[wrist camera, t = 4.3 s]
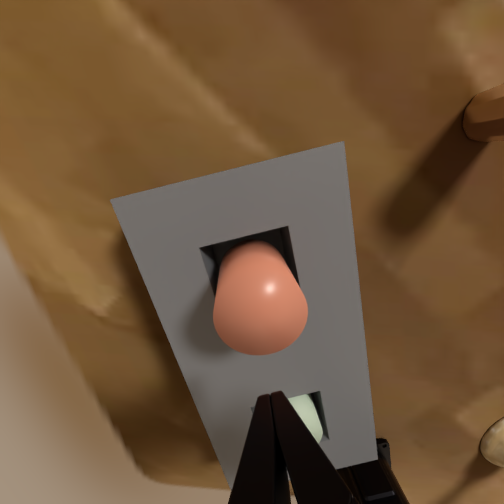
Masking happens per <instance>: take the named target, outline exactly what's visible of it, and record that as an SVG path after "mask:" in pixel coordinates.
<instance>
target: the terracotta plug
mask: <svg viewBox="0 0 504 504" xmlns="http://www.w3.org/2000/svg"><path fill="white" fill-rule="evenodd" d="M307 317H308V306H307V302H306V299H305V296H304V294H303V292H302V291H301V289H300V287H299V285H298V284H297V282H296V280H295V278H294V276H293V275H292V273H291V271H290V269H289V268H288V266H287V264H286V262H285V260H284V259H283V257H282V255H281V254H280V252H279V251H278V250H277V249H276V248H275V247H274V246H273V245H271V244H270V243H268V242H265V241H262V240H255V239H252V240H245V241H242V242H239V243H237V244H235V245H234V246H232V247H231V248H230V249H229V250H228V251H227V252H226V254H225V255H224V257H223V259H222V261H221V265H220V271H219V277H218V284H217V290H216V297H215V303H214V310H213V322H214V326H215V329H216V331H217V333H218V335H219V337H220V338H221V339H222V340H223V342H224V343H226V344H227V345H228V346H229V347H231V348H232V349H234V350H236V351H238V352H241V353H244V354H248V355H268V354H272V353H276V352H278V351H281V350H283V349H285V348H286V347H288V346H289V345H291V344H292V343H293V342H294V341H295V340H296V339H297V338H298V337H299V336H300V334H301V333H302V331H303V329H304V327H305V325H306V322H307Z"/></svg>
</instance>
